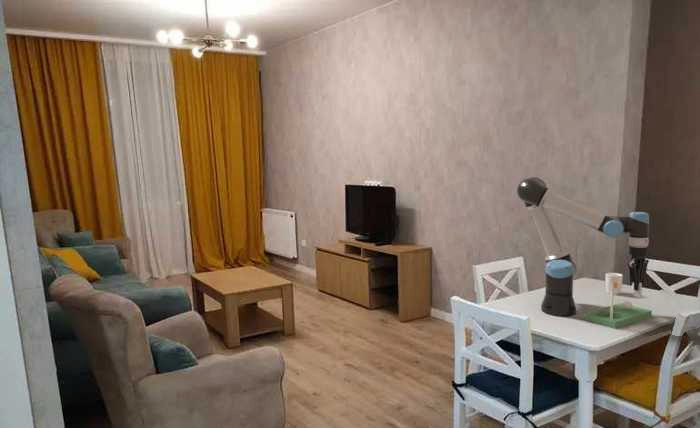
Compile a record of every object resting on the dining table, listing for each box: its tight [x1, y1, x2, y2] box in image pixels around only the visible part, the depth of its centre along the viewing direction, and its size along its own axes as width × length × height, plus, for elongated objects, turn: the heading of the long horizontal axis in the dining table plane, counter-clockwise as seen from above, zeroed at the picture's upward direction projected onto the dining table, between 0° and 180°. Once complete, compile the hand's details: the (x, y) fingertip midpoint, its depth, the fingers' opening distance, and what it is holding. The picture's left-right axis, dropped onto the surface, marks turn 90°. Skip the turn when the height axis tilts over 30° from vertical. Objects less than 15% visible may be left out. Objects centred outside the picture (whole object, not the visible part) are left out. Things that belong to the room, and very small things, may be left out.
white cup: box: [605, 272, 624, 296], centre depth 248 cm, size 8×8×10 cm
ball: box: [621, 300, 633, 310], centre depth 213 cm, size 4×4×4 cm
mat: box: [583, 302, 653, 329], centre depth 210 cm, size 28×14×2 cm, turn 120°
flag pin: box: [609, 282, 617, 321], centre depth 200 cm, size 4×1×16 cm, turn 120°
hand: (637, 296), depth 216 cm, fingers closed
